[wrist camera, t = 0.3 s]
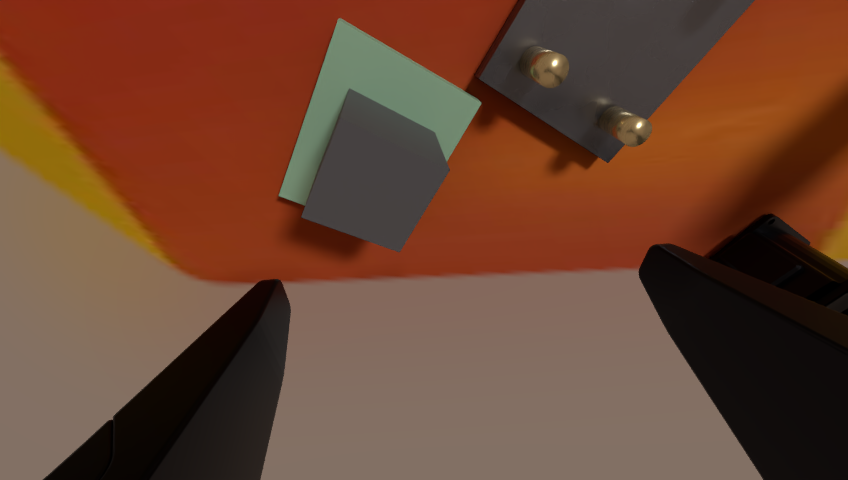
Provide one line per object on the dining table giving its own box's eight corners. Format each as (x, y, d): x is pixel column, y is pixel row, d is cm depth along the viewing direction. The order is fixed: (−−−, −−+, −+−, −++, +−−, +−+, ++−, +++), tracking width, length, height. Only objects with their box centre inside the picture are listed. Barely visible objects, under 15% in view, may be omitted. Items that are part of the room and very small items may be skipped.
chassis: (786, -56, 16) (871, -66, 13) (599, 156, 22) (632, 181, 19) (659, -239, 12) (740, -305, 10) (474, 75, 18) (491, 90, 15)
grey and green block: (476, 97, 19) (510, 134, 14) (398, 230, 24) (403, 292, 19) (340, 17, 16) (323, 28, 11) (283, 186, 21) (253, 246, 16)
